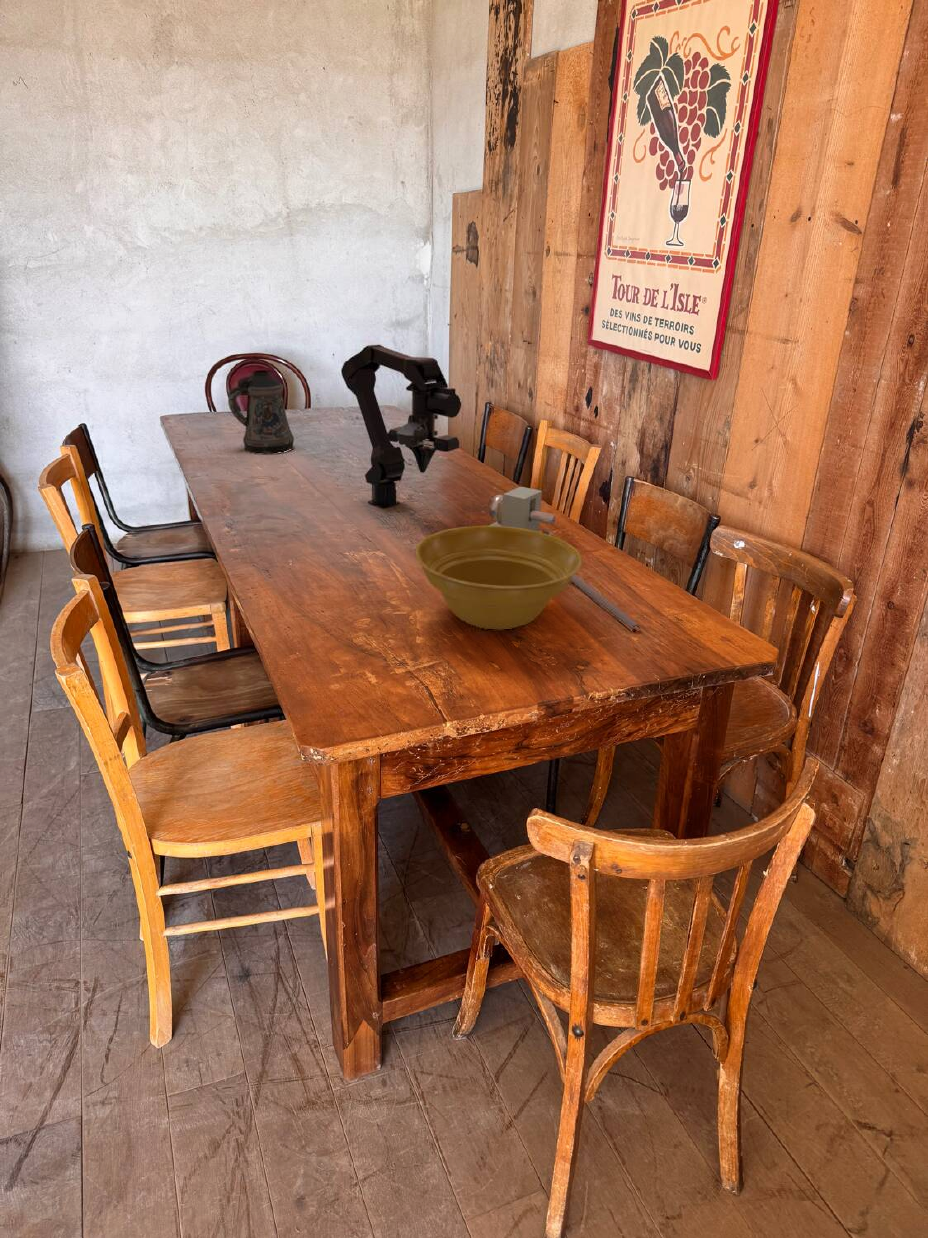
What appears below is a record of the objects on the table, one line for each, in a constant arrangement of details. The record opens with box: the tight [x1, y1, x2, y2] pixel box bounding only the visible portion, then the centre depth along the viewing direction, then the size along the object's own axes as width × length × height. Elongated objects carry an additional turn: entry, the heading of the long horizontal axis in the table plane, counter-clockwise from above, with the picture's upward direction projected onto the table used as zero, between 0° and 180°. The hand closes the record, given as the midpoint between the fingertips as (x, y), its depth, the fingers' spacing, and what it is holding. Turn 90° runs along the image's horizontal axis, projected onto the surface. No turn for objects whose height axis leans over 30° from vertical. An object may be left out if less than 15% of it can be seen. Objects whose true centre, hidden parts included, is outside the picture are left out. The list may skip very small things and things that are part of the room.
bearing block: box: [488, 486, 554, 537], centre depth 208 cm, size 16×9×12 cm, turn 57°
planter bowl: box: [414, 525, 583, 630], centre depth 164 cm, size 32×32×13 cm
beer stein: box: [227, 369, 295, 454], centre depth 275 cm, size 16×19×25 cm
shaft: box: [489, 494, 556, 525], centre depth 207 cm, size 16×6×6 cm, turn 57°
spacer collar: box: [497, 501, 503, 523], centre depth 209 cm, size 2×5×5 cm, turn 147°
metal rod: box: [570, 573, 641, 630], centre depth 174 cm, size 2×27×2 cm, turn 20°
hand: (422, 472), depth 216 cm, fingers closed
